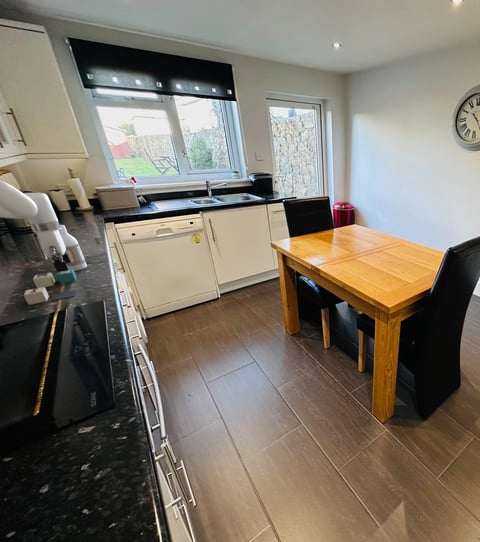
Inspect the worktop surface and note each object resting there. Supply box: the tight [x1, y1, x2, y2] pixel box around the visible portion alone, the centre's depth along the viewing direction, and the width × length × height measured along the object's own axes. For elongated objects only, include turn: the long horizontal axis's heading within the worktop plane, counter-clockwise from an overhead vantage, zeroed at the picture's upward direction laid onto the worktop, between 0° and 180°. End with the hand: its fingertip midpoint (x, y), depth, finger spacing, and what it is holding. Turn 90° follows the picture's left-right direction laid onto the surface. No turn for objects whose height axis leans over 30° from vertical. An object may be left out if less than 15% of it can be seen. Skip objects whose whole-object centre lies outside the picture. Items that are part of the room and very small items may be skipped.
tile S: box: [56, 269, 78, 285], centre depth 115 cm, size 4×4×4 cm
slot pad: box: [51, 289, 77, 302], centre depth 105 cm, size 6×6×1 cm
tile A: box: [32, 272, 56, 288], centre depth 112 cm, size 4×4×4 cm
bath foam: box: [58, 224, 88, 272], centre depth 124 cm, size 7×7×20 cm
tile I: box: [23, 287, 50, 306], centre depth 100 cm, size 4×4×4 cm
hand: (64, 267), depth 114 cm, fingers open, 9 cm apart
